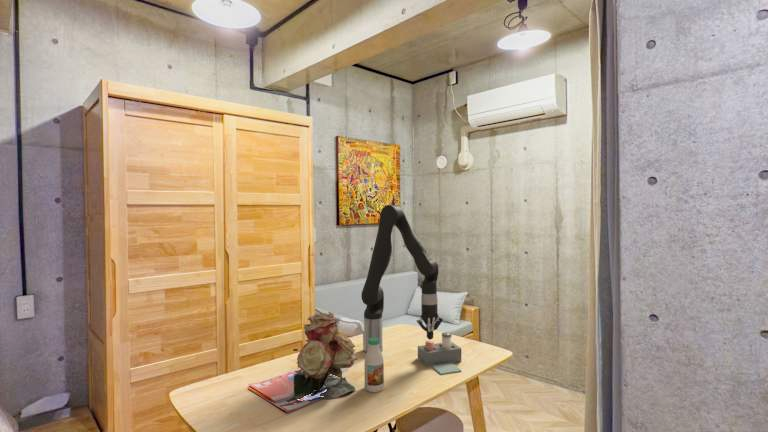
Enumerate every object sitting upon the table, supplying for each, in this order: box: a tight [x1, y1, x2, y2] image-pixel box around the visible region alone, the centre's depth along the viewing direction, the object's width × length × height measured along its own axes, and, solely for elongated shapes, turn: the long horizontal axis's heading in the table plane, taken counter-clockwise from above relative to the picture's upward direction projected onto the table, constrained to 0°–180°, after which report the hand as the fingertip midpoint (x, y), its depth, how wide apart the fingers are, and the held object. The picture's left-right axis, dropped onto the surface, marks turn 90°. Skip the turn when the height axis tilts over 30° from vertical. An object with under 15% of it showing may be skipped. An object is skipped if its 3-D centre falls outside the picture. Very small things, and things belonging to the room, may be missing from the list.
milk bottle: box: [364, 338, 385, 393], centre depth 160 cm, size 8×8×20 cm
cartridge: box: [441, 331, 453, 349], centre depth 191 cm, size 5×5×12 cm
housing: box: [417, 341, 462, 367], centre depth 190 cm, size 18×10×6 cm, turn 109°
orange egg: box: [424, 340, 435, 351], centre depth 188 cm, size 4×4×6 cm
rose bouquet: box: [292, 311, 358, 401], centre depth 162 cm, size 26×29×30 cm
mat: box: [431, 362, 462, 376], centre depth 179 cm, size 10×9×1 cm
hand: (429, 338), depth 188 cm, fingers closed
